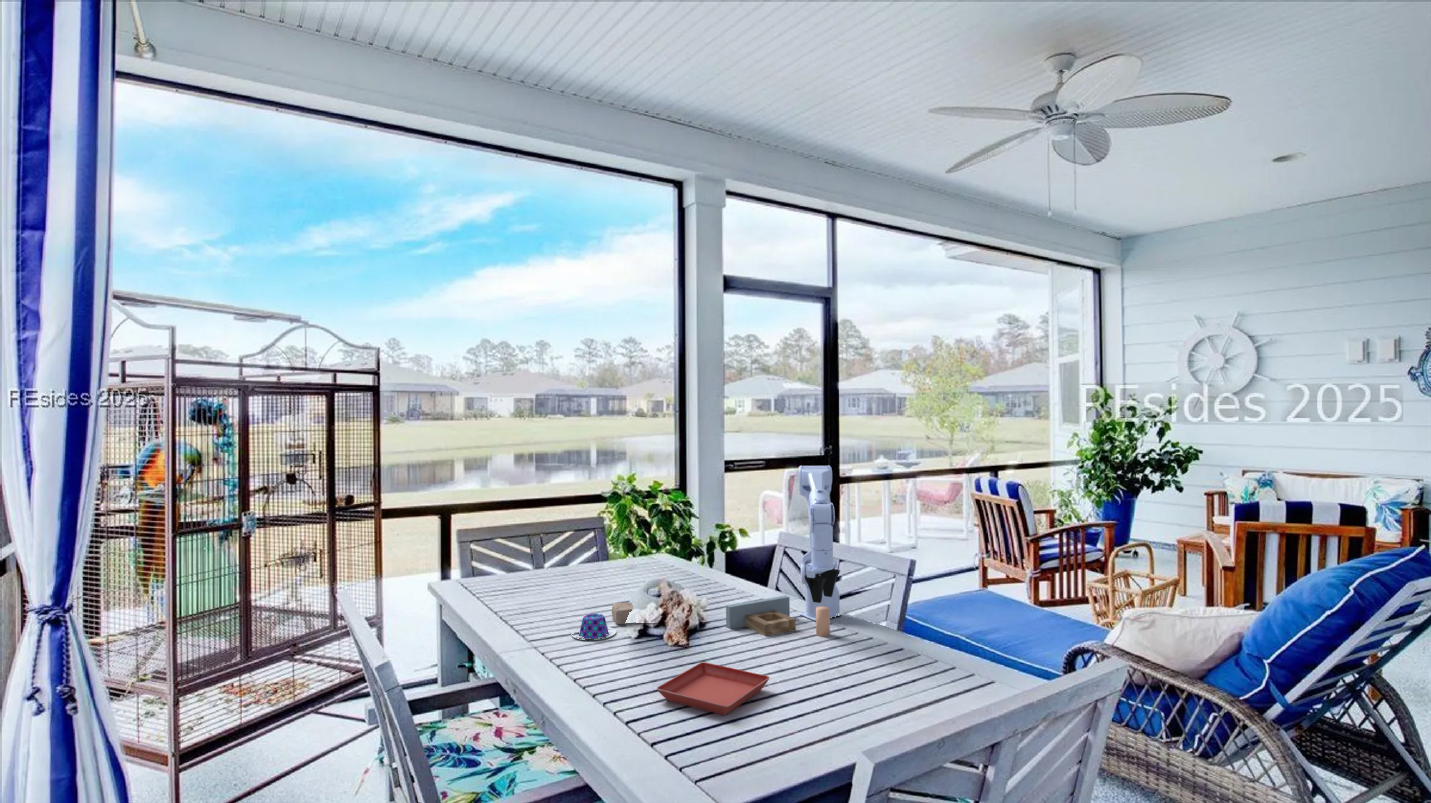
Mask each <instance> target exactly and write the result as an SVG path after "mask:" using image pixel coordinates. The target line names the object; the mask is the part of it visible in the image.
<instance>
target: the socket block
mask: <svg viewBox="0 0 1431 803" xmlns="http://www.w3.org/2000/svg"><path fill="white" fill-rule="evenodd" d="M796 622H797V621H796V618H794V617H792V616H787V615H785V614H783V613H780V612H778V611H776V610H774V611H768V612H762V613H757V614H751V615H745V626H744V627H747V629H750V630H751V631H754V632H756V633H758V634H761V635H762V636H764V637H766V636H773V635H777V634H781V633H787V632H793V631H796V628H797V624H796Z"/></svg>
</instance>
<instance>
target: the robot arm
mask: <svg viewBox="0 0 1431 803" xmlns="http://www.w3.org/2000/svg"><path fill="white" fill-rule="evenodd" d="M797 471H798V473H797V474H798V491H799V494H800V496H802V497H804V498H805V500H806V504H807V509H808V510H807V511H808V512H807V513H808V514H807V515H808V538H809V539H808V540H809V551H807V552H806V553H805V554H804V555H802V556H801V559H800V582H801V584H802V585H805V611H803V612H799V615H800V616H802V617H803V618H807V619H809V620H811V621H814V622H816V608H817V607H828V608H830V619H832V618H831V617H835V616H838V613H840V614H841V612H840V591H839V589H838V586H836V581H837V579H838V576H839V575H840V573H841V572H840V569H837V568H838V560H837V559H836V560H835V558H834V556H833V555H834V543H833V542H834V538H833V537H834V535H833V534H834V533H833V532H834V531H833V527H834V525H835V520H836V519H835V518H836V516H835V507H834V504H833V502H831V495H830V494H831V492H832V484H833V470H832V467H831V466H830V465H829V464H828V465H799V466H798V470H797ZM836 614H837V615H836ZM835 618H836V617H835Z"/></svg>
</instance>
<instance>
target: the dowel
mask: <svg viewBox="0 0 1431 803" xmlns="http://www.w3.org/2000/svg"><path fill="white" fill-rule="evenodd" d="M830 621H831V618H830V608H828V607H817V608H816V621H815V625H816V626H815V634H816V636H818V637H825V638H826V637H830V635H831V632H830V631H831V630H830V629H831V626H830V625H831V624H830Z"/></svg>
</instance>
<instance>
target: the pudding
mask: <svg viewBox="0 0 1431 803" xmlns="http://www.w3.org/2000/svg"><path fill="white" fill-rule="evenodd" d="M579 629H580V632H579V634H578V637H579V636H582V637H584V638H591V639H594V640H593V641H596V640H599V638H598V637H603V638H602V639H601V640H603V639H607V638H610V637H612V636H614V635H615V634H616V633H617V630H616V629H615V628H614V627H611V626H608V625H607V621H606V617H605V615H603V614H602V613H589V614H586V615H584V616H583V618H582V620H581V624H580V627H579V628H577V629H575V630H573V631H572V632H571V636H572V637H573V638H575V639H578V640H580V639H579V638H576V637H575V636H573V635H572V634H574V632H578V630H579ZM608 629H610V631H609V632H613V633H611V634H612V635H610V636H608V635H606V634H610V633H609V632H608ZM611 629H612V630H611ZM605 636H606V638H604V637H605ZM607 636H608V637H607ZM582 637H581V638H582ZM596 638H598V639H596ZM581 640H582V641H586V640H585V639H583V638H582V639H581Z"/></svg>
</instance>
